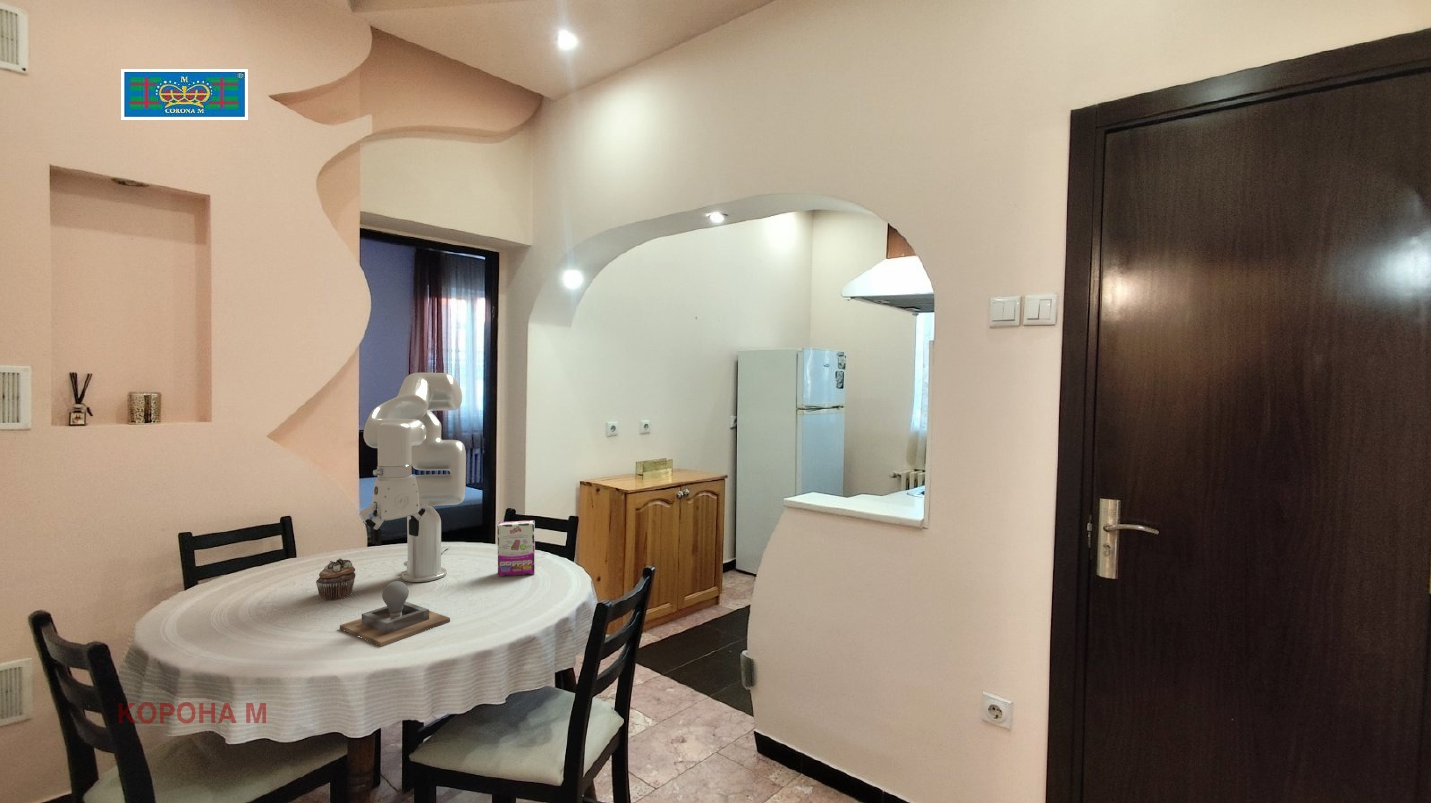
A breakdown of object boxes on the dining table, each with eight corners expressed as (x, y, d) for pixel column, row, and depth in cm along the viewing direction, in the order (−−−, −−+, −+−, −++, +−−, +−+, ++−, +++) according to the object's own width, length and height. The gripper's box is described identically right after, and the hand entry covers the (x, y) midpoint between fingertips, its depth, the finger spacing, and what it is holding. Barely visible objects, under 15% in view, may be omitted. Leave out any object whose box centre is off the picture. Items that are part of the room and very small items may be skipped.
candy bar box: (535, 570, 205) (535, 519, 205) (534, 574, 201) (534, 523, 200) (498, 572, 203) (498, 521, 202) (497, 576, 198) (497, 524, 197)
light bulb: (396, 615, 163) (395, 576, 163) (414, 618, 161) (413, 579, 161) (377, 623, 158) (376, 584, 157) (395, 627, 156) (394, 586, 155)
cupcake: (334, 588, 185) (334, 554, 185) (363, 591, 184) (363, 556, 183) (307, 599, 176) (307, 564, 176) (337, 602, 174) (337, 566, 174)
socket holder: (339, 629, 156) (339, 615, 156) (408, 607, 172) (408, 594, 172) (381, 646, 147) (381, 631, 147) (450, 621, 162) (450, 608, 162)
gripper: (368, 478, 148) (369, 550, 149) (435, 468, 163) (436, 534, 164) (351, 475, 152) (352, 545, 153) (418, 466, 167) (418, 530, 168)
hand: (395, 539), depth 159 cm, fingers open, 9 cm apart
